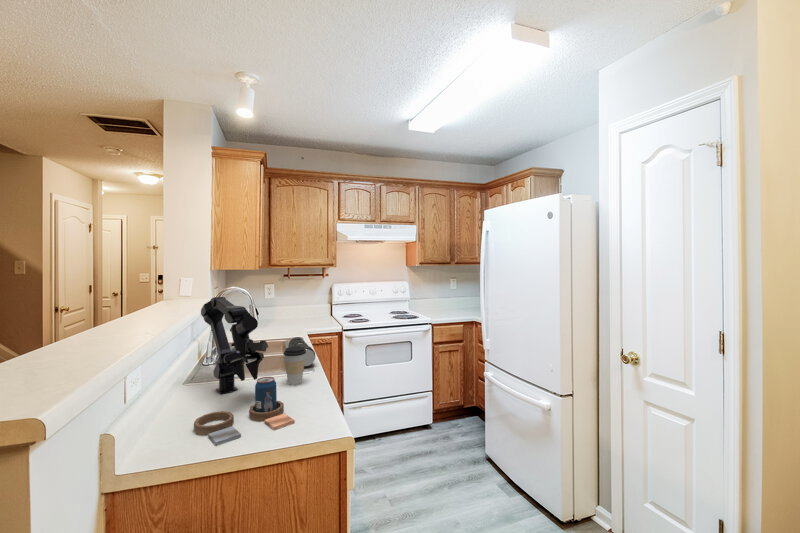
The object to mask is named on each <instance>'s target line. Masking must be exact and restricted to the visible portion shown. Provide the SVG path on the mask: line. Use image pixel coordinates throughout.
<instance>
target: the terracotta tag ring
mask: <svg viewBox="0 0 800 533" xmlns="http://www.w3.org/2000/svg"><path fill="white" fill-rule="evenodd" d="M284 405H285V404H284V402H283V401H281V400H277V409H276V410H273V411H270V412H263V413H260V412H255V403H254V404H252V405H251V406H250V407H249V410H248V417H249V419H250V420H252V421H256V422H264V424H265V425H266V426H268V427H269V428H270V429H272V430H273V431H276V430H279V429H282V428H284V427H286V426H289V425H292V424H295V419H294V418H292V417H291V416H289V415H288V414H286V413H284V412H285V411H284V410H285V406H284ZM281 427H282V428H281Z"/></svg>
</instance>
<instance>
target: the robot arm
mask: <svg viewBox="0 0 800 533" xmlns="http://www.w3.org/2000/svg"><path fill="white" fill-rule="evenodd" d="M200 315H201V317H202V318H203V320H204V322H205V323H207V324H208V325H209V326H210V330H211V333H212V336H213V340H214V343H215V348H216V350H217V354H218V357H217V359H216V361H215V363H216V365H215V367H214V369H213V377H214V378H216V379H217V380H218V388H215V390H216V391H217V392H218V393H219V394H221V395H223V394H228V393H232V392H235V391H238V389H239V388H238V387H236V386H235V382H236V381H235V375H236V376H237V377H238V378H239V380H240V381H241V382H242V381H245V380H246V377H245V376H246V375H245V367H246V368H247V370H248V372H249V374H250V375H251V377H252V379H253V380H258V376H259V375H258V374H259V365H260V364H261V362H262V361H263V360H264V359H265V355H264V353H263V352H266V351H267V349H268V348H269V345H268V342H267V341H266V340H260V341H258V342H257V341H256V342H255V341H254V340H253V339H251V338H250V334H251V333H253V332H254V331H255V330H256V329H257V328H258V325H259V322H258V320H257V318H255V317H254V316H253V315H251V313H250V312H249V311H248V309H247V308H246V307H245V306H242V305H234V304H233V303H232V302H230V300H228V299H227V298H226V297H224V296H218V297H217V296H216V297H212V298H211V299H210V300H209V301H207V302H206V303H204V304H203V305H202V307H201V310H200ZM223 319H224V320H225V321H226V322H227V324H232V325H231V327H230V329H229V332H230V333H231V337H232V343H230V342H229V340H228V336H227V333H226V330H225V327H224V323H223ZM229 343H230V344H231V345H230V344H229ZM230 346H231V347H233V348H234V350H232V349H231V347H230Z"/></svg>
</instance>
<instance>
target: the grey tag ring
mask: <svg viewBox="0 0 800 533" xmlns="http://www.w3.org/2000/svg"><path fill="white" fill-rule="evenodd" d="M234 416H235V415H234V414H233V412H231V411H220V410H219V411H213V412H212V411H211V412H209V413H206V414H204V415H203V414H202V415H201V416H200V417H198V418H196V419H195V421H194V422H193V432H194V433H195V434H196V435H200V436H208V437H207V438H208V439H209V440H210V441H211V442H212V443H213V444H214V445H215V446H216V447H217V446H220V445H223V444H225V443H228V442H231V441H234V440H236V439H241V438H242V433H241V432H240V431H238V430H237V429H236V428H235V427H234V426H233V425H234V423H235V419H234V418H235V417H234ZM216 421H221V422H220V423H216V424H208V423H211V422H216ZM205 424H208V425H205Z"/></svg>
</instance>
